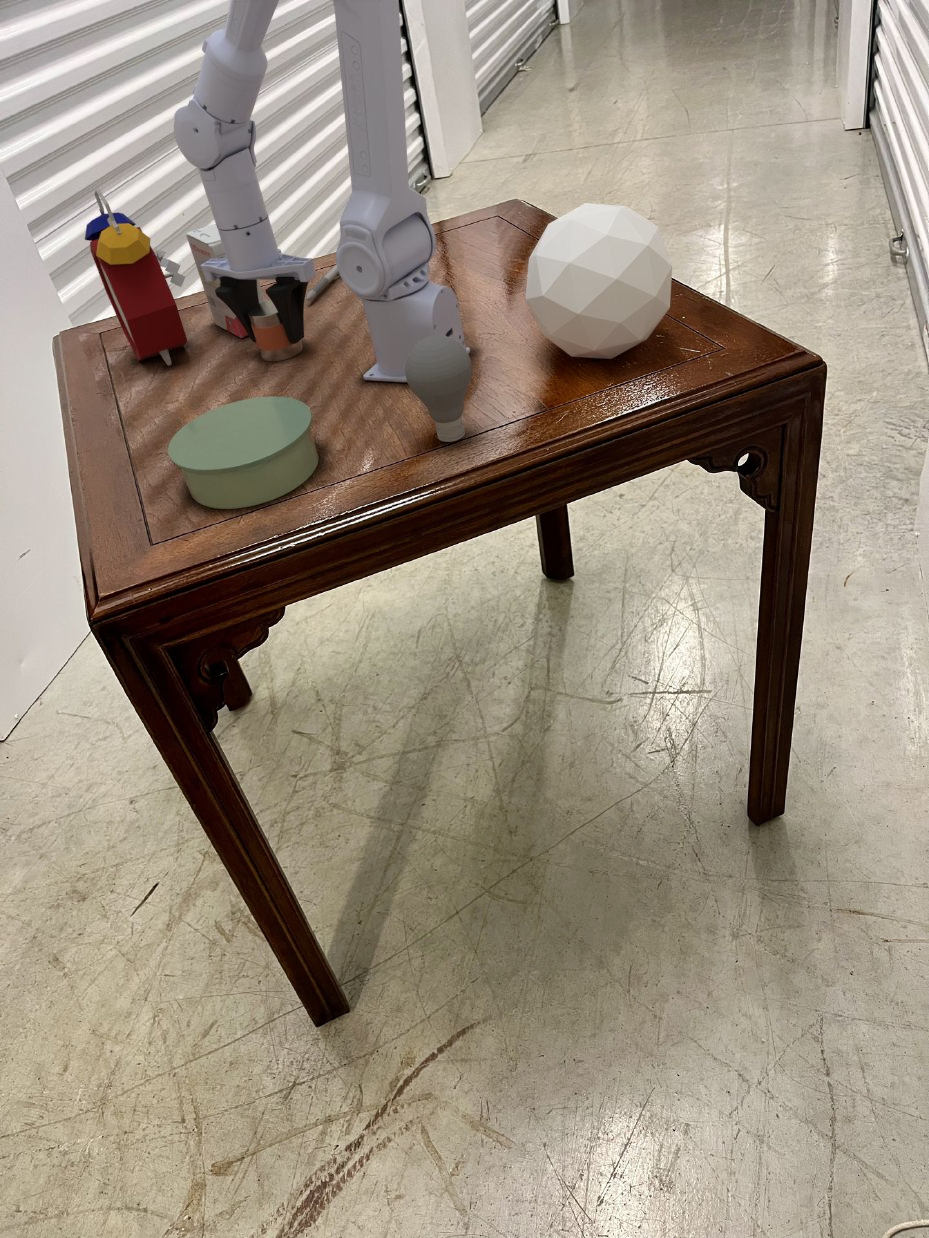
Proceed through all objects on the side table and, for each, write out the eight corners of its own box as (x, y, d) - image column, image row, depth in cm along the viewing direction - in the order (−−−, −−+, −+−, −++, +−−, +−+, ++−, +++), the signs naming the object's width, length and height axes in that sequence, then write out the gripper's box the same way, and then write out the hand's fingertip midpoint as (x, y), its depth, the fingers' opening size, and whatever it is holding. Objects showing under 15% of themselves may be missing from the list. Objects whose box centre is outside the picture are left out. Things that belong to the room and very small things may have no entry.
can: (311, 343, 113) (298, 299, 110) (287, 362, 110) (273, 317, 107) (277, 342, 115) (263, 298, 112) (253, 360, 112) (238, 316, 109)
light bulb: (408, 445, 89) (385, 345, 83) (453, 418, 92) (433, 319, 86) (451, 461, 86) (430, 358, 79) (496, 432, 88) (479, 330, 82)
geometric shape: (618, 376, 104) (670, 239, 101) (655, 384, 90) (718, 224, 86) (497, 331, 102) (546, 189, 98) (516, 332, 88) (574, 165, 84)
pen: (350, 266, 133) (347, 256, 132) (312, 306, 123) (309, 295, 122) (343, 266, 133) (341, 256, 133) (305, 306, 123) (302, 296, 123)
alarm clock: (126, 344, 124) (60, 184, 111) (188, 323, 126) (131, 164, 114) (149, 380, 113) (79, 207, 100) (217, 356, 115) (157, 184, 103)
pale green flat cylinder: (350, 442, 92) (338, 400, 89) (271, 520, 83) (255, 476, 80) (240, 432, 98) (226, 392, 95) (156, 503, 89) (137, 462, 86)
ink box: (274, 326, 120) (246, 231, 113) (240, 340, 118) (208, 244, 111) (248, 311, 126) (218, 220, 119) (214, 324, 124) (182, 232, 117)
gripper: (316, 207, 103) (346, 326, 111) (213, 210, 109) (249, 323, 117) (280, 230, 98) (315, 353, 107) (175, 232, 104) (215, 348, 113)
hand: (278, 339), depth 112 cm, fingers closed on can, 5 cm apart
